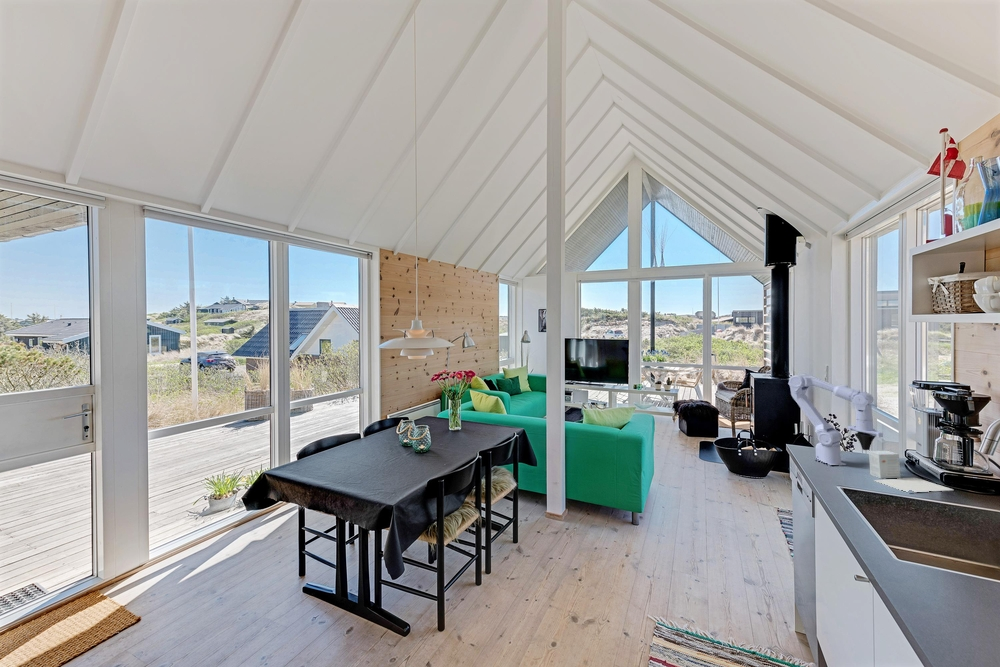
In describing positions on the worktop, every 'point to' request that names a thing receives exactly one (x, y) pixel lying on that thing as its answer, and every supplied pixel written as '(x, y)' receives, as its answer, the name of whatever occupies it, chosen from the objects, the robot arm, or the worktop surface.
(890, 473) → the small box
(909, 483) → the mat
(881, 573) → the worktop surface
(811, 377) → the robot arm
